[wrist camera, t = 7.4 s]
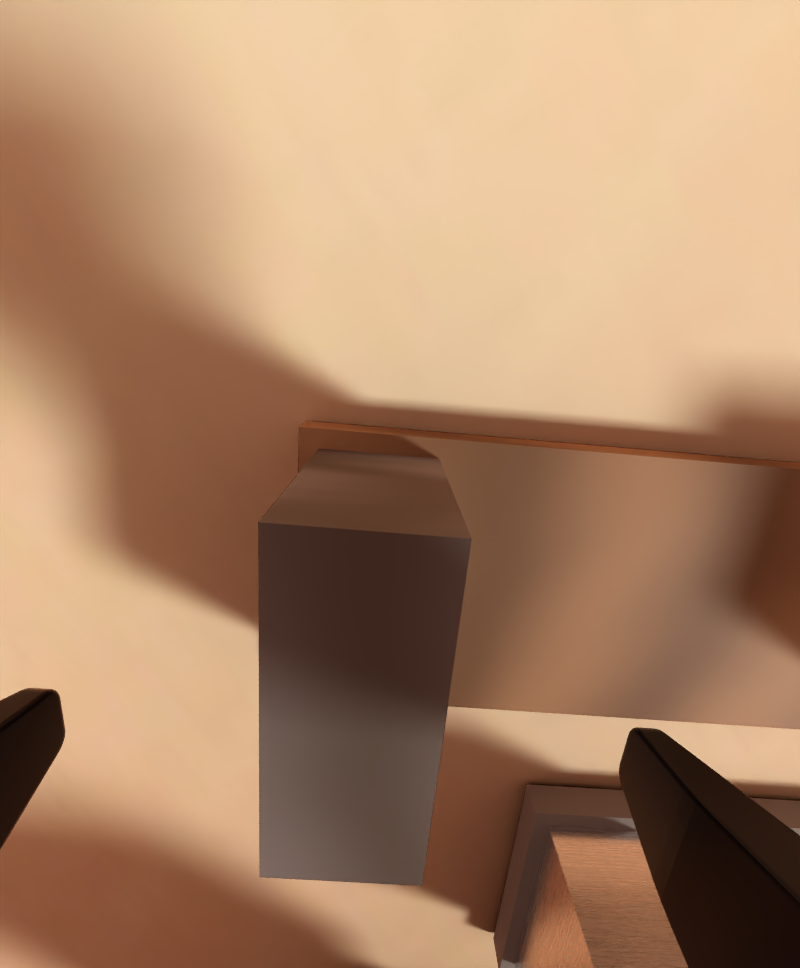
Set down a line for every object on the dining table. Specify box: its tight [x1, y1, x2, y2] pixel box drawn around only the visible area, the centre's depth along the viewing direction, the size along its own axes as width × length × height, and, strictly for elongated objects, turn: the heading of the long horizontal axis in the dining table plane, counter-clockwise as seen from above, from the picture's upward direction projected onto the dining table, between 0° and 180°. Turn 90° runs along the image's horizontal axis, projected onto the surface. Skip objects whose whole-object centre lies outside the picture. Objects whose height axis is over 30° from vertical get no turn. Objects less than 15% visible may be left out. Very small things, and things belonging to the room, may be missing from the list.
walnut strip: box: [258, 421, 800, 886], centre depth 10 cm, size 22×8×6 cm, turn 85°
